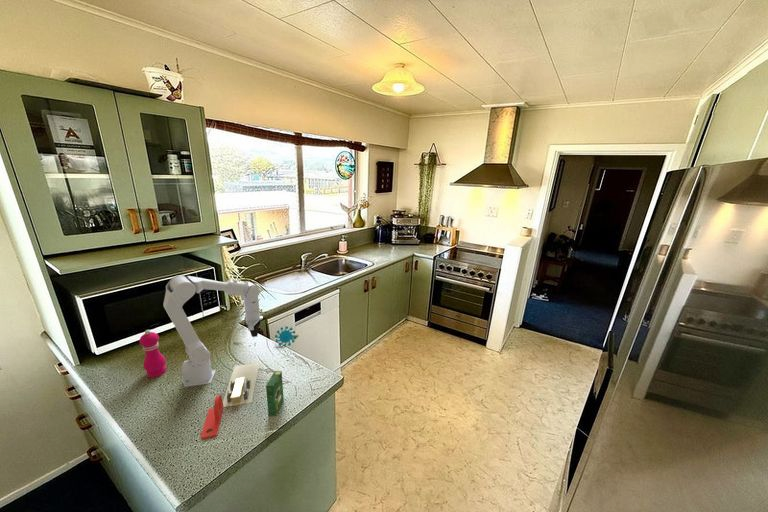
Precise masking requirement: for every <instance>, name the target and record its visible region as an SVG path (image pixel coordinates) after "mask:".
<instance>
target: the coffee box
mask: <svg viewBox="0 0 768 512" xmlns="http://www.w3.org/2000/svg"><path fill="white" fill-rule="evenodd" d="M265 388H266V389H265V390H266V401H267V402H266V403H267V415H268V416H273V417H274V416H277V413H278V412H279V410H280V408H281V406H282V404H283V401H284V399H285V397H284V386H283V372H282V370H274V372H273V373H272V375H271V376H270V377H269V380H268V381H267V383H266V384H265Z"/></svg>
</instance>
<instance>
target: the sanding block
mask: <svg viewBox="0 0 768 512" xmlns="http://www.w3.org/2000/svg"><path fill="white" fill-rule="evenodd" d="M244 387H245V378H244V377H243V378H237V379H236V382H235V386H234V389H233V393H232V396H231V400H232V404H238V403H241V399H242V395H243V391H244Z"/></svg>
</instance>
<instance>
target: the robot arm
mask: <svg viewBox="0 0 768 512" xmlns="http://www.w3.org/2000/svg"><path fill="white" fill-rule="evenodd" d="M203 290H209V291H210V290H213V291H221V292H222V291H223V292H224V294H226V295H231V296H240V297H241V296H242V297H243V305H244V313H245V322H246V324H245V326H246V328H247V330H248V331H249V332H250V335H251V337H252V338H256V337H258V334H259V328H260V325H261V321H262V320H263V318H264V316H263V315H261V314H260V301H259V295H260V293H261V290H260V288H259V287H258V285H256V284H254V283H252V282H251V281H249V280H248V281H246V280H245V281H238V280H237V279H235V278H233V279H230V280H227V281H225V282H223V281H218V280H215V279H214V280H213V279H207V278H203V277H198V276H193V275H192V276H191V275H186V276H185V275H181V274H180V275H175V276H173V277H172V278H171V279H170V280H169V281H168V282H167V284H166V285H165V294H164V299H163V308H164V310H165V311H166V313H167V315H168V317H169V318H170V320H171V322H172V324H173V325H174V327H175V329H176V331H177V332H178V335H179V336H180V338H181V339H182V341H183V343H184V346H185V353H186V355H187V356H188V357H189V358H188V359H187V360H184V361H183V362H182V366H181V376H182V379H183V380H182V381H183V388H188V387H193V386H202V385H208V384H209V385H210V384H211V383H212V381H213V378H214V376H215V373H216V369H212V363H211V355H212V353H211V351H210V350H209V349H207V347H206V346H205V344H204V343H203V341H201V340H200V338H199V336H198V335H197V333H196V331H195V329H194V327H193V325H192V324H191V322H190V320H189V318H188V316H187V314H186V312H185V311H184V309H183V306H184V305H185V303H187V301H189V300H190V299H191V298H193V296H194V295H195V294H200V293H201V292H202V291H203Z"/></svg>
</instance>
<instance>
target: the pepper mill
mask: <svg viewBox="0 0 768 512" xmlns="http://www.w3.org/2000/svg"><path fill="white" fill-rule="evenodd" d="M159 340H160V336H159V334H158V333H156V332H153V331H151V329H145V331H144V334H142V335H141V336H140V337H139V344H140V345H141V346H142V350H143V351H145V358H144V360H143V369H144V371H146V374H147V377H149V378H156V377H159V376H162V375H163V374H165V373H166V371H167V367H166V364H167V363H166V362H167V361H166V360H167V359H166V358H165V356H164V355H163V354H162V353H161V352H160V350H159V346H160V345H159Z"/></svg>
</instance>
